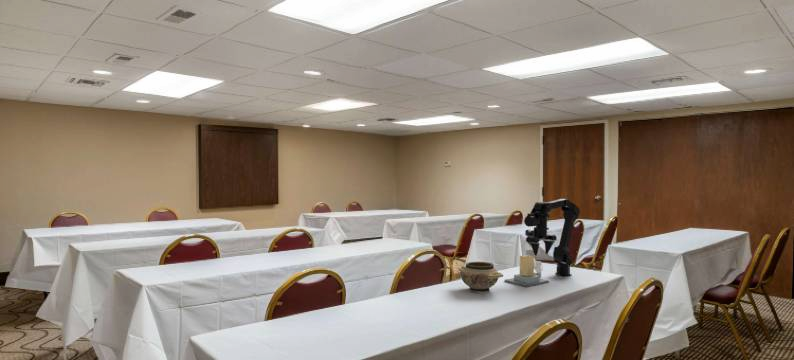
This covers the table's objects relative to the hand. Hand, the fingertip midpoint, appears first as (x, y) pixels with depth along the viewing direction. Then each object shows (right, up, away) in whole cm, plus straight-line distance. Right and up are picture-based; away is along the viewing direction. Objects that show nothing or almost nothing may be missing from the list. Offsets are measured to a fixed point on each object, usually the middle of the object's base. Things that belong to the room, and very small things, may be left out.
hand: (541, 254), depth 245 cm
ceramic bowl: (-38, -13, -25) cm, 47 cm away
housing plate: (-10, -13, -8) cm, 18 cm away
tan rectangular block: (-10, -12, -8) cm, 17 cm away
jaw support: (-1, -13, +11) cm, 17 cm away
